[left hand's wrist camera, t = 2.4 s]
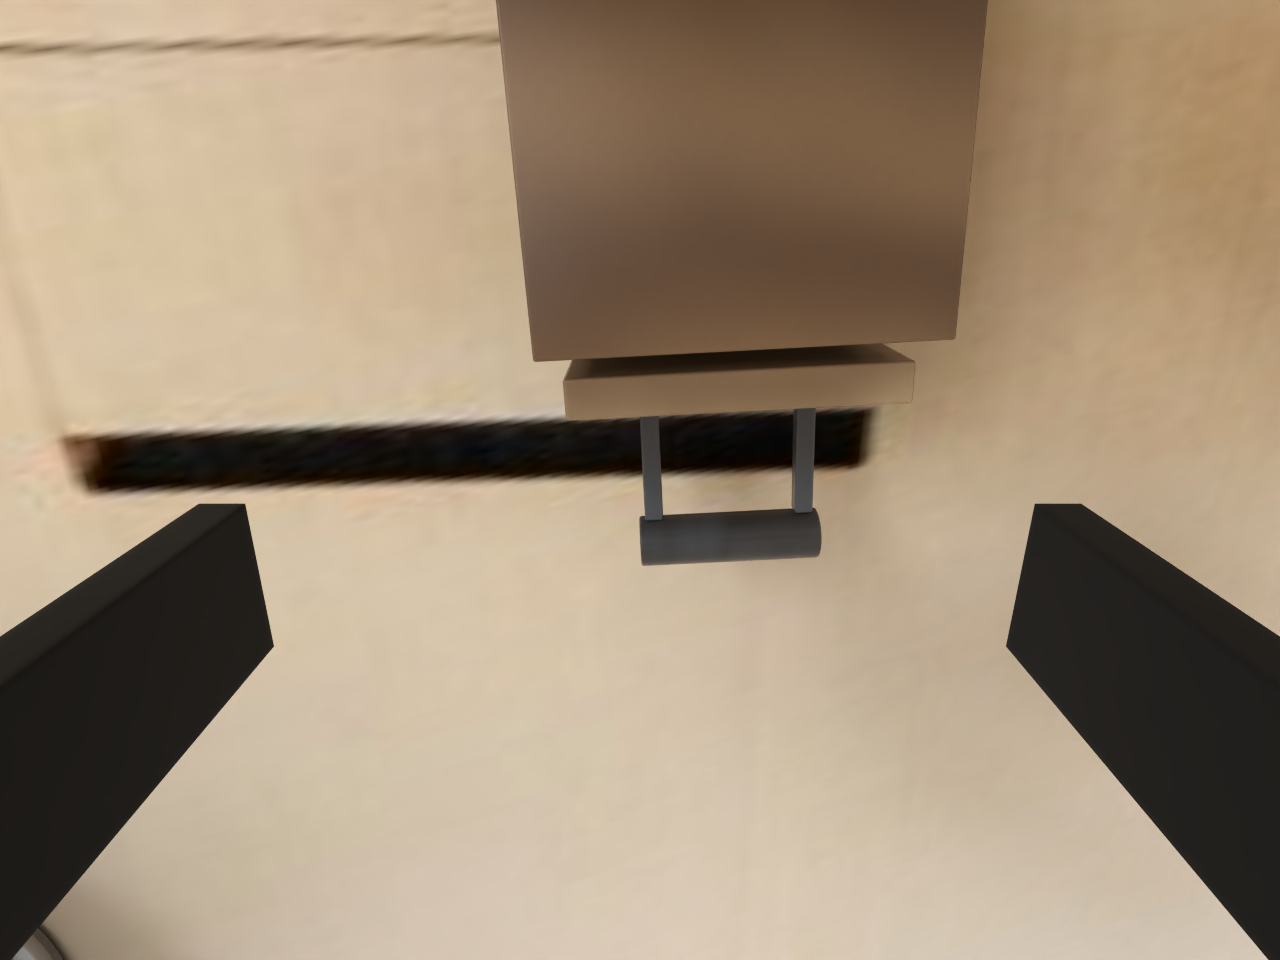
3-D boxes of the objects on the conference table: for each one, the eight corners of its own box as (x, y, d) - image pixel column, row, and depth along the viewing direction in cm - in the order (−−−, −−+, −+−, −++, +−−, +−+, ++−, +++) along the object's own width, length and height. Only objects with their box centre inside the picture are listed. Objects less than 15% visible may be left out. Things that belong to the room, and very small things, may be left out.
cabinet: (855, 299, 27) (956, 339, 19) (564, 314, 28) (533, 362, 19) (883, -279, 22) (1047, -603, 13) (516, -256, 22) (437, -560, 13)
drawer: (837, 506, 29) (897, 595, 22) (595, 518, 29) (583, 611, 23) (866, -160, 22) (970, -326, 15) (542, -140, 22) (501, -295, 15)
